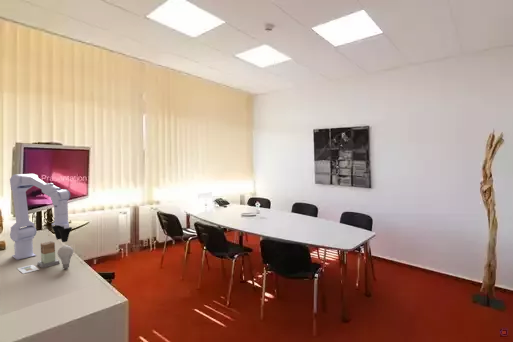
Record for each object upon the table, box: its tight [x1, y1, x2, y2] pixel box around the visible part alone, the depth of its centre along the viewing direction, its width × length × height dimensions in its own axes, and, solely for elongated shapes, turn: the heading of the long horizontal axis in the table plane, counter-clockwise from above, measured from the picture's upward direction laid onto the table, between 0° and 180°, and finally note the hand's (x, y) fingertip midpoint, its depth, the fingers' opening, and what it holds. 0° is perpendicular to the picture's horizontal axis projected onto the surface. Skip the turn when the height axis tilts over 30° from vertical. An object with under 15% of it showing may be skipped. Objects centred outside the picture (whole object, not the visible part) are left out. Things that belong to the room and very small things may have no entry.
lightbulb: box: [57, 245, 74, 270], centre depth 131 cm, size 6×6×11 cm
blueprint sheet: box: [16, 264, 40, 275], centre depth 132 cm, size 10×6×1 cm, turn 52°
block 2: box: [40, 251, 56, 264], centre depth 138 cm, size 4×4×4 cm
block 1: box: [40, 241, 56, 254], centre depth 137 cm, size 4×4×4 cm
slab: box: [36, 257, 60, 269], centre depth 138 cm, size 7×7×2 cm
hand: (62, 240), depth 142 cm, fingers open, 7 cm apart
